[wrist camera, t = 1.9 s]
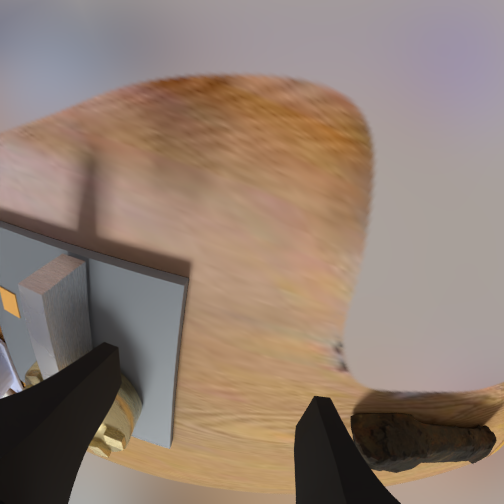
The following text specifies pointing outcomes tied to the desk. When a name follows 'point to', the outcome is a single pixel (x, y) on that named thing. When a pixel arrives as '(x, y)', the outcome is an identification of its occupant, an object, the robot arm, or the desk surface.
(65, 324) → the gold rounded piece
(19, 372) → the base plate
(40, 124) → the desk surface
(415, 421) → the dark brown statuette
